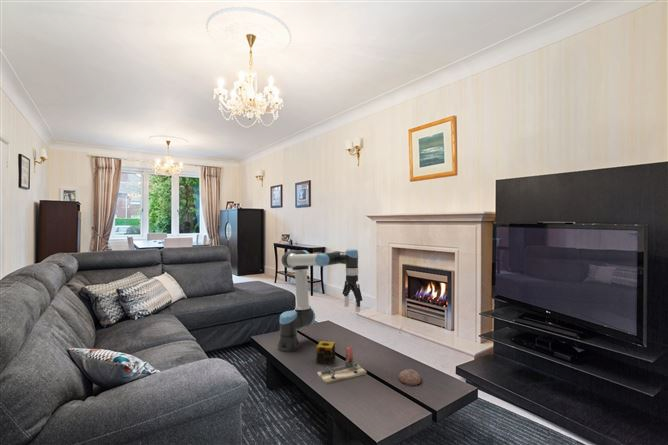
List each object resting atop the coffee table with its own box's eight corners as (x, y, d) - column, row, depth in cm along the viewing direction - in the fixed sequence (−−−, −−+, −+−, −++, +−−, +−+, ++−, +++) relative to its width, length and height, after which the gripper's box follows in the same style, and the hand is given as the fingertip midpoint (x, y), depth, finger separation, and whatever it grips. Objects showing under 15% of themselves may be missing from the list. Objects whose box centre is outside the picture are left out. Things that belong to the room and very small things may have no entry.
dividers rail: (320, 373, 180) (320, 368, 180) (356, 364, 190) (356, 360, 190) (327, 380, 172) (327, 375, 172) (364, 371, 182) (364, 366, 182)
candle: (332, 364, 193) (332, 348, 193) (315, 363, 195) (315, 346, 195) (335, 357, 203) (335, 341, 203) (320, 356, 205) (319, 340, 205)
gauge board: (317, 374, 181) (317, 371, 181) (355, 365, 192) (355, 362, 192) (326, 383, 170) (326, 381, 170) (366, 373, 182) (366, 371, 182)
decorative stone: (413, 389, 166) (413, 378, 166) (394, 380, 174) (394, 370, 174) (425, 381, 174) (425, 370, 174) (406, 373, 182) (406, 363, 182)
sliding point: (344, 366, 188) (344, 346, 188) (351, 364, 190) (350, 345, 190) (353, 373, 179) (353, 353, 179) (359, 371, 181) (359, 351, 181)
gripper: (337, 272, 207) (337, 305, 207) (357, 278, 185) (357, 315, 185) (347, 271, 210) (347, 303, 211) (368, 277, 188) (368, 313, 188)
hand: (352, 309), depth 198 cm, fingers open, 13 cm apart
